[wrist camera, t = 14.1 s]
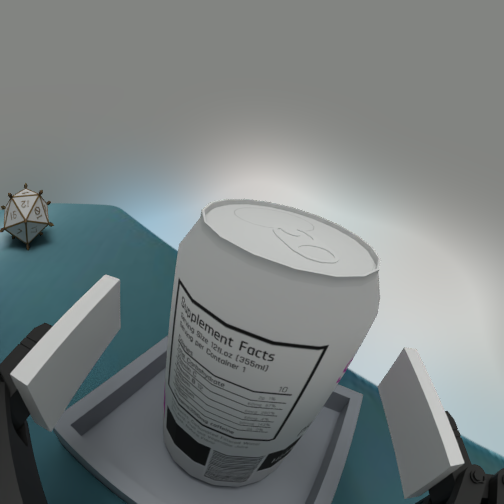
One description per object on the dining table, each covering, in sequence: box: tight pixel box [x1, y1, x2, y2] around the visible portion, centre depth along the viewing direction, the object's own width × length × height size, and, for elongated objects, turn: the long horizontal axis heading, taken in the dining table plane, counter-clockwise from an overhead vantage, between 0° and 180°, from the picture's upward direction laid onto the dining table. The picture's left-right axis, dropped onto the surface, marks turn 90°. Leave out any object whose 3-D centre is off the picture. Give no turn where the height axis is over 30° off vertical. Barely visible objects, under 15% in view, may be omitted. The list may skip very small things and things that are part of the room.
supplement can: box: [163, 199, 381, 487], centre depth 14 cm, size 8×8×15 cm
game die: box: [0, 183, 54, 250], centre depth 32 cm, size 9×8×10 cm
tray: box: [53, 336, 363, 504], centre depth 17 cm, size 16×16×3 cm
